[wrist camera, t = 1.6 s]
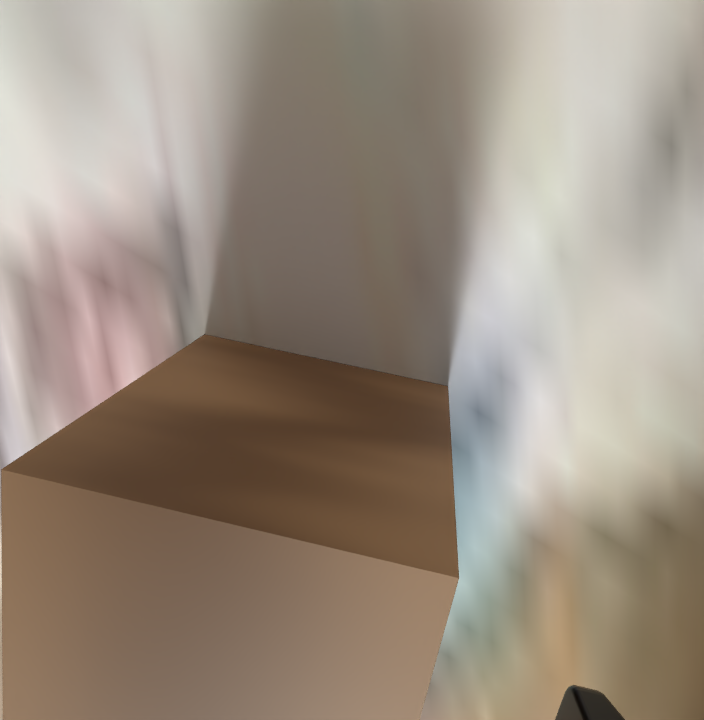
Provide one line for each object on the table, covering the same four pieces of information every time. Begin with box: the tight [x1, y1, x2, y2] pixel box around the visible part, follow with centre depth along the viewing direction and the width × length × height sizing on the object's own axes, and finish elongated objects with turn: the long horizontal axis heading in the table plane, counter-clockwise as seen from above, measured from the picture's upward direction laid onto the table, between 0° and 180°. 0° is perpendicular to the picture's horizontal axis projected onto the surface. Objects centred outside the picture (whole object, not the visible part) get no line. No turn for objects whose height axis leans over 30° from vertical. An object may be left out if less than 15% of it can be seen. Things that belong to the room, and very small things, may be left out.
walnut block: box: [1, 334, 459, 720], centre depth 10 cm, size 5×5×6 cm
